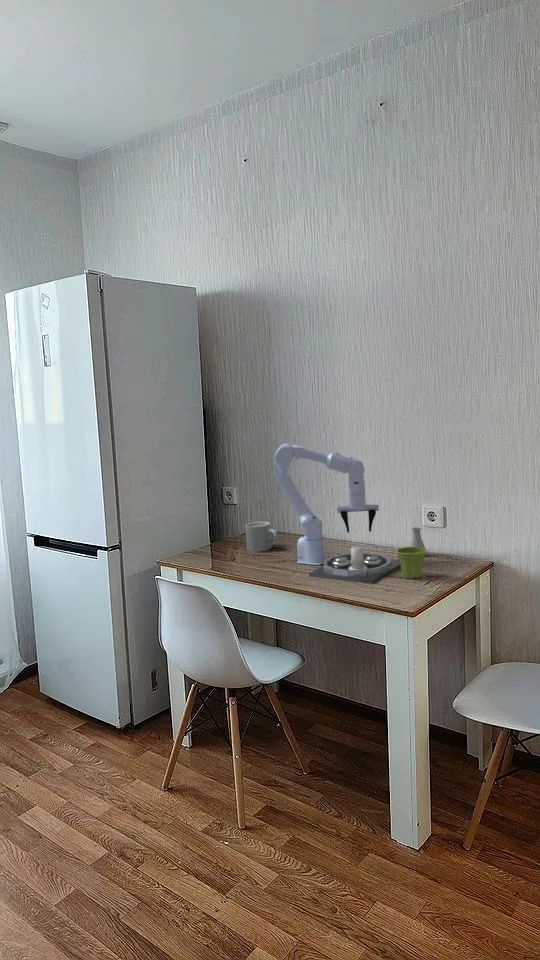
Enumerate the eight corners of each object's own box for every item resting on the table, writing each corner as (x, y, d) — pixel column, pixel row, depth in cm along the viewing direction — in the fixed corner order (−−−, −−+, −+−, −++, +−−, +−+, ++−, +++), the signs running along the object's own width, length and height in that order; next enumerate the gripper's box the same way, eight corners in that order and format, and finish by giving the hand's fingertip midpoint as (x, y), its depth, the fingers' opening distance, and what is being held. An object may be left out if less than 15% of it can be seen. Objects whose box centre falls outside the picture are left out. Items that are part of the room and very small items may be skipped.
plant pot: (406, 571, 227) (405, 545, 226) (432, 574, 221) (431, 548, 220) (392, 578, 220) (390, 552, 219) (418, 582, 214) (417, 555, 213)
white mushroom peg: (345, 571, 227) (344, 548, 226) (359, 568, 230) (358, 545, 229) (356, 575, 222) (355, 551, 221) (371, 571, 225) (369, 548, 224)
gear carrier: (309, 575, 229) (308, 565, 229) (343, 558, 248) (343, 549, 248) (372, 583, 216) (372, 572, 215) (404, 564, 235) (403, 554, 234)
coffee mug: (241, 550, 272) (239, 525, 270) (259, 544, 279) (257, 520, 278) (266, 554, 263) (264, 528, 261) (283, 548, 270) (281, 523, 269)
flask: (422, 558, 241) (421, 530, 239) (403, 556, 245) (402, 529, 244) (431, 553, 246) (430, 526, 245) (412, 552, 251) (411, 525, 249)
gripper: (377, 490, 244) (379, 528, 246) (336, 493, 246) (338, 530, 248) (378, 494, 237) (380, 532, 239) (336, 496, 239) (338, 534, 241)
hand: (359, 531), depth 243 cm, fingers open, 7 cm apart
